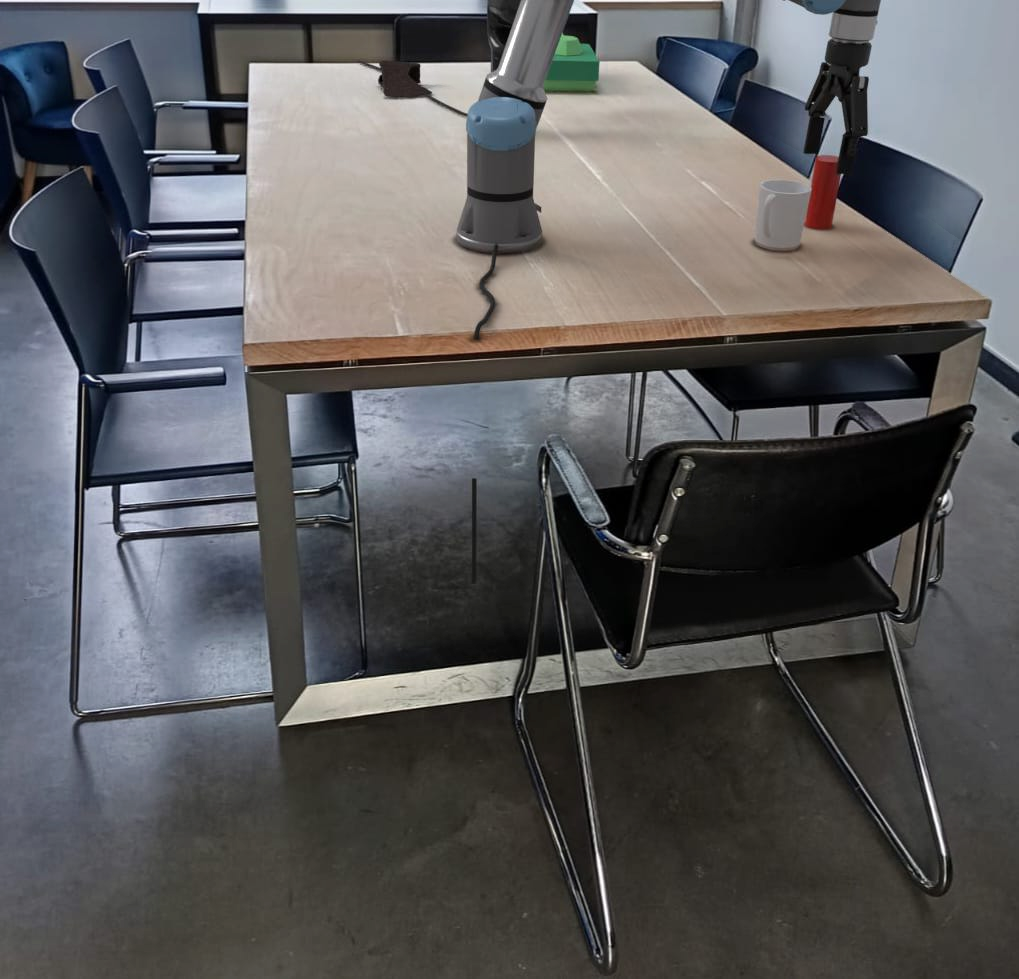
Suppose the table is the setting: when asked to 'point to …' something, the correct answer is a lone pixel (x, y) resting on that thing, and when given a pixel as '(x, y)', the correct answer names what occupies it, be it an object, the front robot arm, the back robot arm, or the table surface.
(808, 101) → the front robot arm
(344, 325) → the table surface
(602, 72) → the table surface
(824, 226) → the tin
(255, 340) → the table surface
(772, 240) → the mug
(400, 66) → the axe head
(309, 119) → the table surface
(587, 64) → the toy tank
